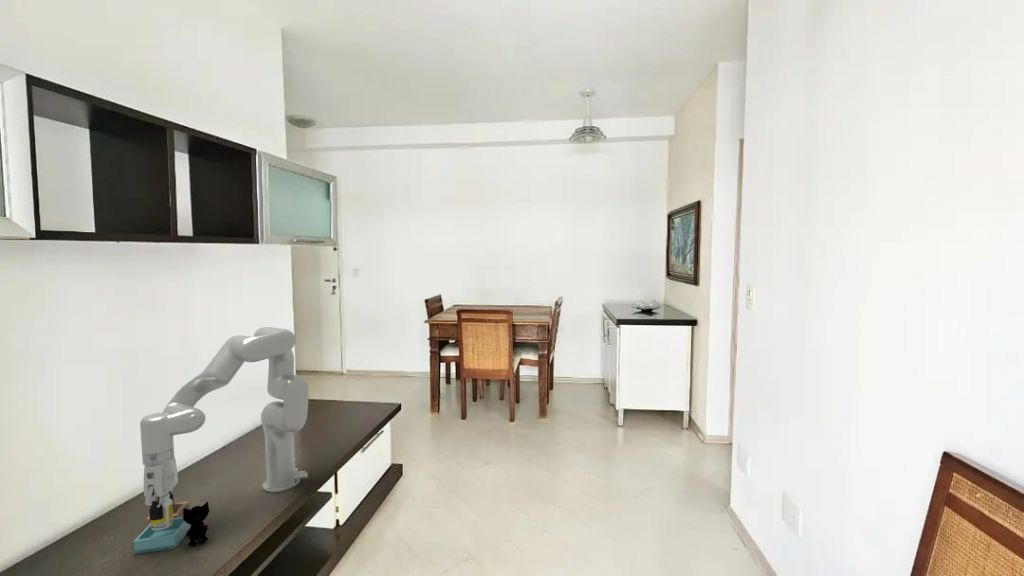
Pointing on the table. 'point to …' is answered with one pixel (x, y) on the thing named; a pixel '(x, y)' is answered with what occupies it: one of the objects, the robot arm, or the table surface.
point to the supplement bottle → (164, 514)
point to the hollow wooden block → (174, 511)
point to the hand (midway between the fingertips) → (162, 512)
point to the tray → (161, 537)
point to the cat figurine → (196, 523)
